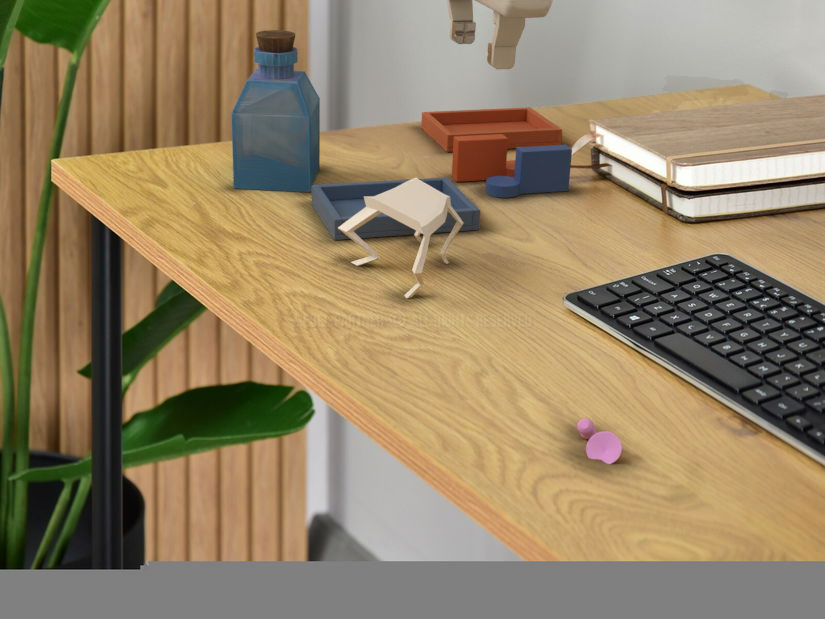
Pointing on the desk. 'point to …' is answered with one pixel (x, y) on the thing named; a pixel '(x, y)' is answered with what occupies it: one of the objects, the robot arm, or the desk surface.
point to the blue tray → (349, 200)
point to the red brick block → (480, 157)
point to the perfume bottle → (276, 121)
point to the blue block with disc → (534, 172)
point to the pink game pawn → (599, 442)
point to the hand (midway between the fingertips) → (480, 54)
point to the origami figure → (407, 219)
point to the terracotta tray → (492, 126)
